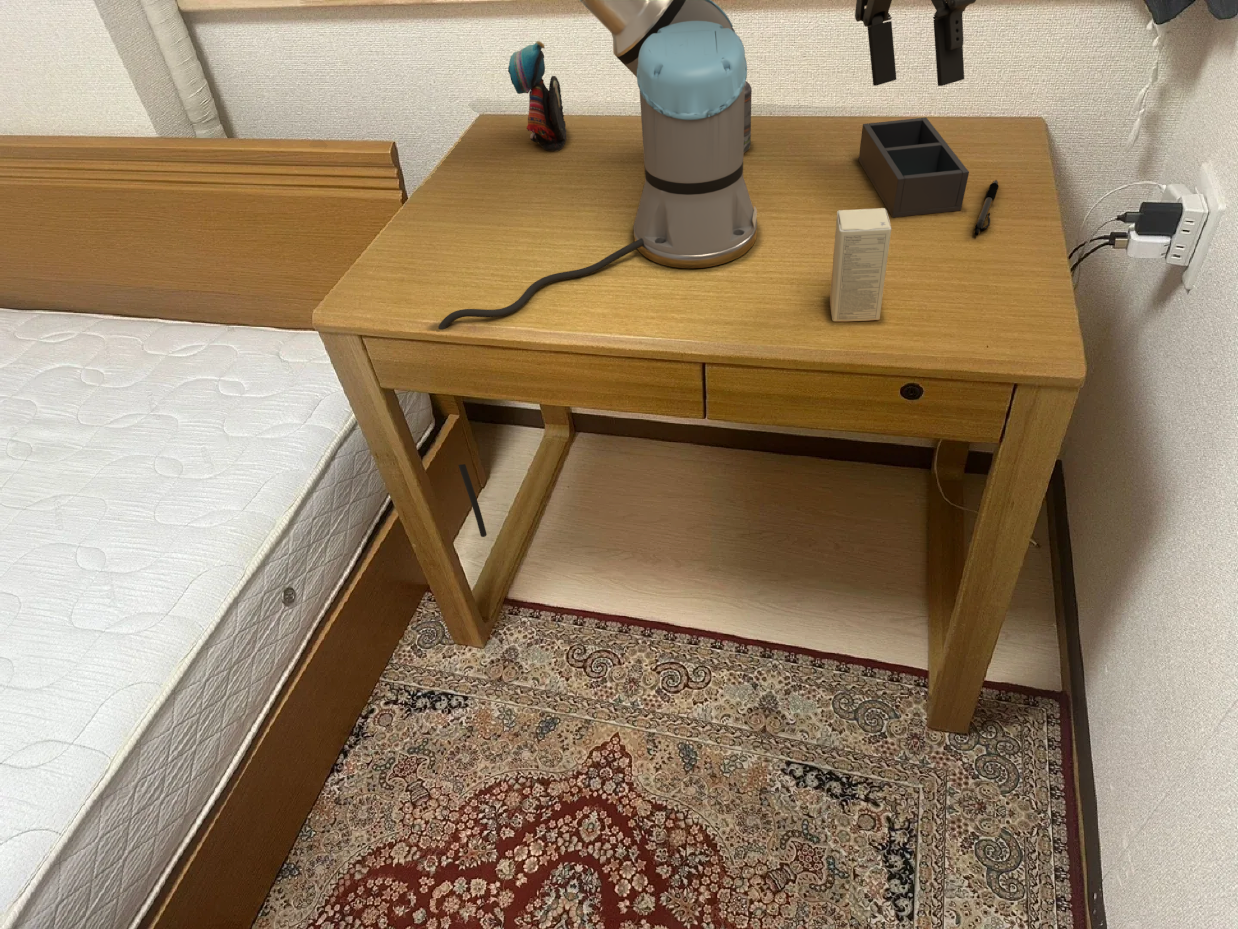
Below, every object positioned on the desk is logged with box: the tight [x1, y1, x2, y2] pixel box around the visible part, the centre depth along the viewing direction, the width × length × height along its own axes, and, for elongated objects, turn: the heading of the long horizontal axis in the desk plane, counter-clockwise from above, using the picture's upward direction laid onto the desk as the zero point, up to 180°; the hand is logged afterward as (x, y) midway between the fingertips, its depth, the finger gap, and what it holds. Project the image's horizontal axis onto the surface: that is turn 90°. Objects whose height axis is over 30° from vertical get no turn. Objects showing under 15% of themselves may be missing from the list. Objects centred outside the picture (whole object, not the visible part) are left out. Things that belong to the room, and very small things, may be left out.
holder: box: [858, 116, 970, 218], centre depth 110 cm, size 9×16×5 cm, turn 3°
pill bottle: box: [743, 80, 753, 154], centre depth 120 cm, size 6×6×11 cm
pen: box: [973, 179, 999, 237], centre depth 105 cm, size 14×2×1 cm, turn 154°
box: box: [829, 207, 892, 322], centre depth 89 cm, size 5×4×11 cm
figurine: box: [507, 40, 567, 152], centre depth 126 cm, size 10×7×15 cm
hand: (915, 82), depth 98 cm, fingers open, 13 cm apart
